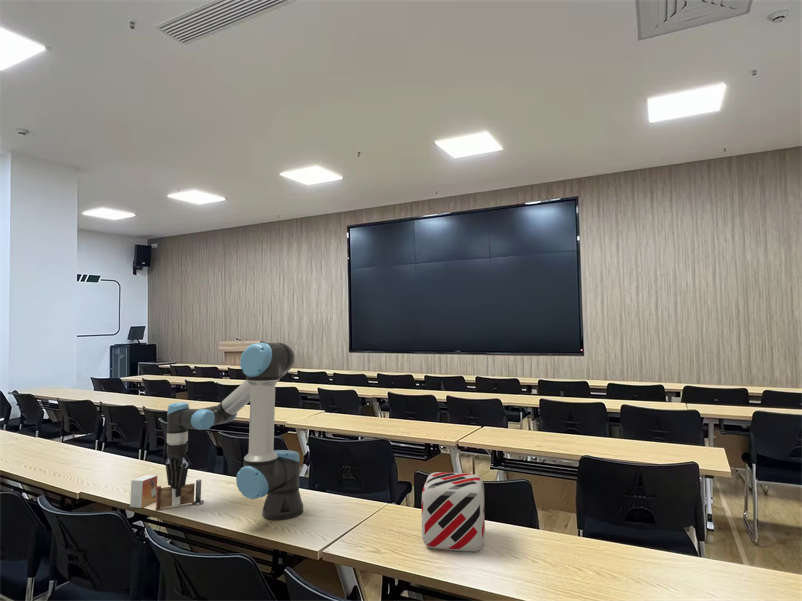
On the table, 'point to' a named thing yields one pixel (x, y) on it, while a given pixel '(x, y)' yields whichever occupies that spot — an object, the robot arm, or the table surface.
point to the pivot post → (198, 494)
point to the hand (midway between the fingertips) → (176, 504)
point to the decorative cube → (453, 511)
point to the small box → (143, 491)
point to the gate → (166, 496)
